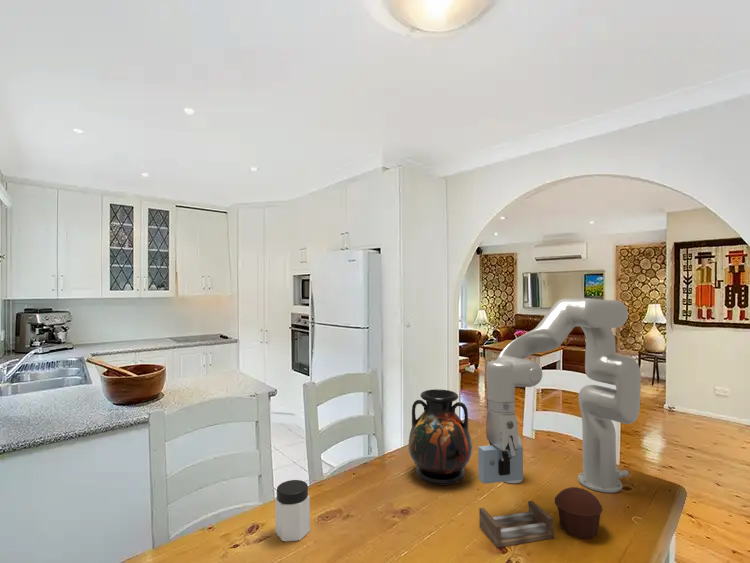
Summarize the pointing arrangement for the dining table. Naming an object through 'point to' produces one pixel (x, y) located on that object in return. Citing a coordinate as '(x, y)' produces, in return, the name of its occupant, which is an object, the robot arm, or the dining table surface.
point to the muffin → (578, 512)
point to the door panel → (490, 465)
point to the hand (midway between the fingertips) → (500, 471)
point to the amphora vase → (440, 438)
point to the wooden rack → (517, 526)
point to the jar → (292, 510)
